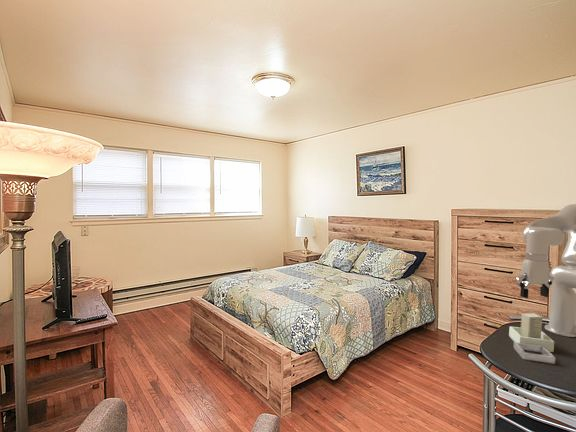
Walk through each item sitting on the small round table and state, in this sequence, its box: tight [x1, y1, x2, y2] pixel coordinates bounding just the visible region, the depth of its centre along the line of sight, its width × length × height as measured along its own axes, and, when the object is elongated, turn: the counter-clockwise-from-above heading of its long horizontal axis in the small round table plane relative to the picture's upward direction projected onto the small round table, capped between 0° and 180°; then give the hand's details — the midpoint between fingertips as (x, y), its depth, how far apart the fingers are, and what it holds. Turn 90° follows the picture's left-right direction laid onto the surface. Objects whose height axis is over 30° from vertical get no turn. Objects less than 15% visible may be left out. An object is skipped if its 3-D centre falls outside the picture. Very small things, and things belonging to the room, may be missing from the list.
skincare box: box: [520, 312, 543, 339], centre depth 138 cm, size 6×4×12 cm
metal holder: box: [513, 341, 556, 365], centre depth 127 cm, size 10×10×2 cm
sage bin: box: [508, 326, 555, 353], centre depth 138 cm, size 12×12×4 cm
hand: (534, 296), depth 138 cm, fingers open, 9 cm apart
